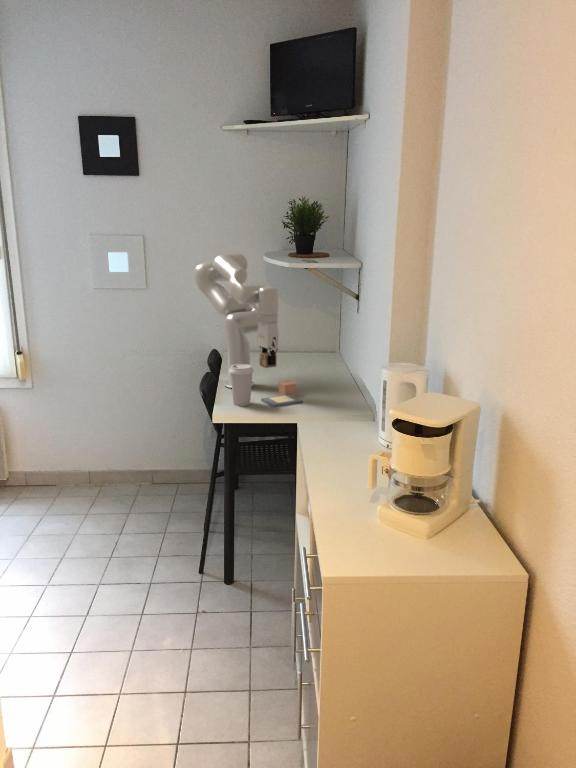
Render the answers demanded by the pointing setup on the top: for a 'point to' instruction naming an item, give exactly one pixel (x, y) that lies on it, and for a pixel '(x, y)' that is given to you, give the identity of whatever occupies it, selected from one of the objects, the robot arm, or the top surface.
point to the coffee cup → (241, 383)
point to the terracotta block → (286, 388)
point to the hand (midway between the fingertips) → (268, 363)
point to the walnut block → (266, 360)
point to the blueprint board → (281, 400)
